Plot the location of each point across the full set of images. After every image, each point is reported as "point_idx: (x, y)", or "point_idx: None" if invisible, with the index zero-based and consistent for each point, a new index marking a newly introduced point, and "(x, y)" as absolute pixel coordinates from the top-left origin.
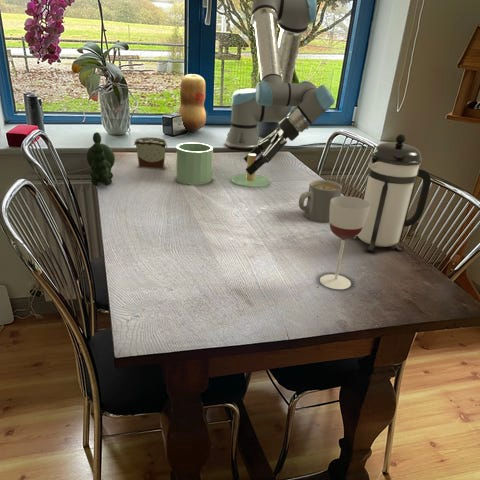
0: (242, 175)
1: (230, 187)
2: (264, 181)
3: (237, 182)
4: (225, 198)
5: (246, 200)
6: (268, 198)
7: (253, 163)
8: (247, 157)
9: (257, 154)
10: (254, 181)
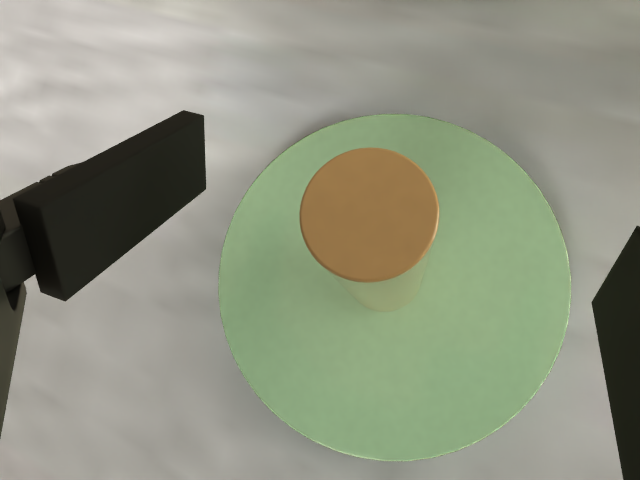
0: (516, 244)
1: (306, 92)
2: (307, 387)
3: (326, 139)
4: (118, 12)
5: (49, 125)
6: (33, 283)
7: (112, 153)
8: (636, 273)
9: (629, 429)
10: (325, 292)
